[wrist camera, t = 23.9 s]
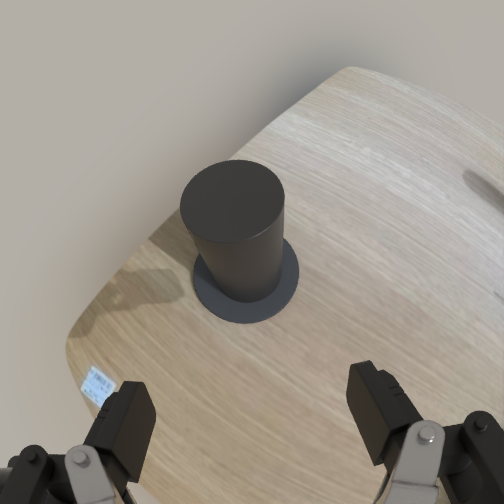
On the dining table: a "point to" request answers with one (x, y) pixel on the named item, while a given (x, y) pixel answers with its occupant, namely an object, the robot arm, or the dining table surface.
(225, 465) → the dining table surface
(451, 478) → the robot arm
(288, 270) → the coaster
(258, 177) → the dark grey cylinder
